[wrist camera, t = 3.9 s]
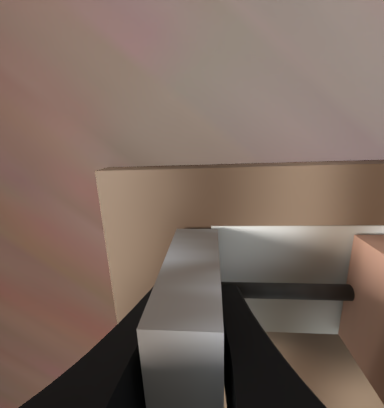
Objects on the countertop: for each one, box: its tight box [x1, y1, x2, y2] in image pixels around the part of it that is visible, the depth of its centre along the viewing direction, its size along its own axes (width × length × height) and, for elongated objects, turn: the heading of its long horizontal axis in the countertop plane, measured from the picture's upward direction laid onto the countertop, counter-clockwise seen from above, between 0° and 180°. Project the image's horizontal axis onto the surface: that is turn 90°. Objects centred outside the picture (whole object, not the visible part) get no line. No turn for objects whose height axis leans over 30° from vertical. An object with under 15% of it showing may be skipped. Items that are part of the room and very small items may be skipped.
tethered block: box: [136, 229, 384, 408], centre depth 7 cm, size 11×5×5 cm, turn 92°
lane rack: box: [95, 160, 384, 408], centre depth 10 cm, size 19×17×4 cm
